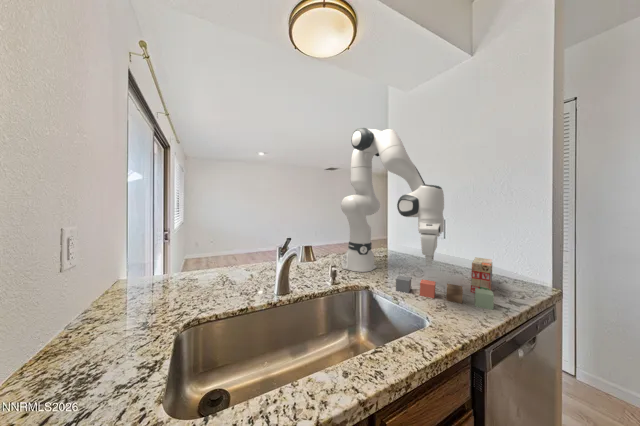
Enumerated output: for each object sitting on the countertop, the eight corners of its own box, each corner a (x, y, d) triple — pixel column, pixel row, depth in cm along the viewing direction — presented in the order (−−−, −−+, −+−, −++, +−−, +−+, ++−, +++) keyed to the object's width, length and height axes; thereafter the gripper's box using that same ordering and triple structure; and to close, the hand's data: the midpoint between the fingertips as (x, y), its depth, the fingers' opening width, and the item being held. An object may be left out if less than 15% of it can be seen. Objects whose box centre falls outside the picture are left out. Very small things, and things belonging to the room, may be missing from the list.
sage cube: (475, 306, 83) (476, 292, 82) (474, 301, 87) (475, 288, 87) (493, 310, 80) (493, 295, 80) (491, 304, 84) (491, 290, 84)
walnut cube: (446, 300, 87) (446, 287, 87) (446, 296, 91) (447, 283, 91) (462, 304, 85) (462, 290, 84) (461, 299, 89) (462, 285, 89)
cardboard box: (475, 279, 112) (476, 253, 112) (491, 282, 109) (493, 255, 108) (470, 292, 96) (471, 262, 95) (489, 296, 92) (491, 265, 91)
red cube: (419, 295, 91) (420, 282, 91) (421, 291, 96) (421, 279, 96) (434, 298, 89) (434, 285, 89) (435, 294, 93) (435, 281, 93)
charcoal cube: (395, 291, 96) (396, 278, 96) (398, 287, 100) (398, 275, 100) (408, 293, 93) (409, 281, 93) (410, 289, 98) (411, 277, 97)
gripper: (424, 224, 101) (424, 256, 102) (418, 228, 84) (417, 267, 84) (441, 225, 98) (440, 258, 99) (438, 229, 80) (437, 270, 81)
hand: (429, 262), depth 91 cm, fingers open, 8 cm apart
